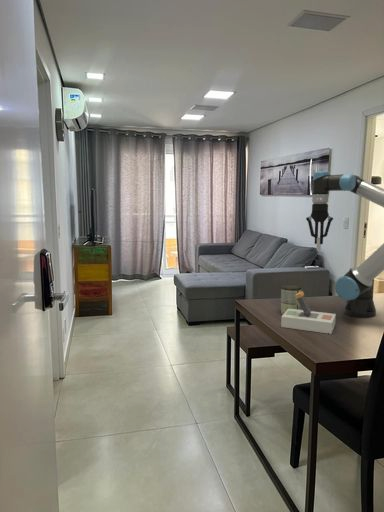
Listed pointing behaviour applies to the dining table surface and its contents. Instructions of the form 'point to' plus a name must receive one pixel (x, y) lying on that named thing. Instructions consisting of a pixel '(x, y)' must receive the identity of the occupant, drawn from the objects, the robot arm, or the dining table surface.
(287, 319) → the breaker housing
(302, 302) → the breaker lever
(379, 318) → the dining table surface
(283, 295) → the coffee can
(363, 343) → the dining table surface
